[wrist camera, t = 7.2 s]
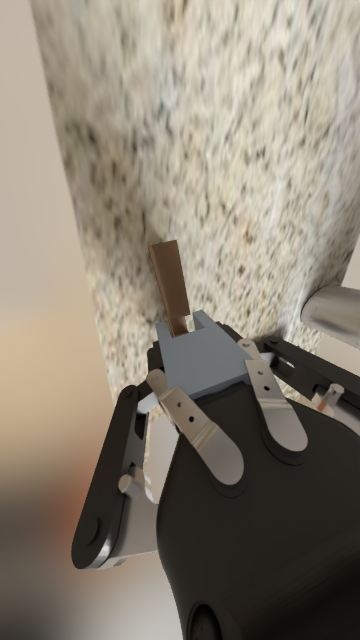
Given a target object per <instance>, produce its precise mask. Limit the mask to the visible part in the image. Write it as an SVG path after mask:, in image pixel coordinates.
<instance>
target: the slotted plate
mask: <svg viewBox="0 0 360 640" xmlns="http://www.w3.org/2000/svg"><path fill="white" fill-rule="evenodd" d="M148 248H149V251H150V255H151V258H152V262H153V266H154V269H155V273H156V276H157V280H158V283H159V287H160V290H161V294H162V298H163V301H164V305H165V308H166V312H167V315H168V319H169V322H170V326H171V330H172V333H173V337H177V336H180V335H184V334H187V333H189V332H188V330H187V325H186V321H185V316H187V315H190V309H189V304H188V299H187V293H186V288H185V282H184V277H183V271H182V266H181V261H180V255H179V250H178V244H177V240H173V241H168V242H164V243H160V244H155V245H152V246H150V247H148Z"/></svg>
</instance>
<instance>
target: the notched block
mask: <svg viewBox="0 0 360 640" xmlns="http://www.w3.org/2000/svg"><path fill="white" fill-rule="evenodd" d="M193 319H194V324H195V330H196V331H193V332H190V333H187V334H184V335H180V336H177V337H174V338H172V337H171V334H170V331H169V329H168V326H167V323H166V321H164V322H160V323H157V324H155V325H156V330H157V335H158V340H159V345H160V349H161V354H162V359H163V364H164V369H165V374H166V379H167V384H168V389H169V390H171V389H172V388H173V387H174V386H175V385H178V386H179V387H180V388H181V389H182V390H183V391H184V392H185V393H186V394H187V396H188V397H189V398H190V399H191V400H192V401H193V402H194V399H197V398H199V397H202V396H205V395H209V394H218V393H222V392H223V391H224V390H225V389H227V388H228V387H229V386H231V385H233V384H235V383H238V382H240V381H243V382H244V383H245V384H250V383H249V380H248V377H247V374H248V372H247V369H246V366H245V363H244V360H250V359H253V358H252V357H251V356H250V355H249V354H248V353H247V352H246V351H245V350H244V349H242V348H241V347H240V346H239V345H238V344H237V343H236V342H235V341H234V340H233V339H232V338H231V337H230V336H229V335H228V334H227V333H226V332H225V331H224V330H223V329H222V328H221V327H220V326H219V325H217V324H216V323H215V322H214V321H213V320H212V319H211V318H210V317H209V316H208V315H207V314H206V313H205V312H204V311H203V310H200V311H197V312H193ZM194 403H195V402H194Z"/></svg>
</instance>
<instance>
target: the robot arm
mask: <svg viewBox="0 0 360 640" xmlns="http://www.w3.org/2000/svg"><path fill="white" fill-rule="evenodd" d="M301 320H302V322H303V324H305V325H307V326H309V327H311V328H314V329H316V330H318V331H320V332H322V333H325V334H327V335H329V336H331V337H333V338H335V339H338V340H340V341H342V342H344V343H347V344H349V345H351V346H353V347H355V348H358V349H360V290H357V289H352V288H347V287H341V286H335V285H328V286H325V287H323V288H321V289H320V290H318V291H317V292H316V293H315V294H314V295H312V297H311V298H310V299H309V300H308V302H307V303H306V305H305V306H304V308H303V311H302V315H301ZM215 323H216V324H217V325H219V326H220V327H221V328H222V329H223V330H224V331H225V332H226V333H227V334H228V335H229V336H230V337H231V338H232V339H233V340H234V341H235V342H236V343H237V344H238V345H239V346H240V347H241V348H242V349H244V350H245V351H246V352H247V353H248V354H249V355H250V356H251V357H252V358H253V359H250V360H244V363H245V366H246V369H247V372H248V374H247V377H248V380H249V383H250V384H245V383H244V382H243V381H240V382H238V383H235V384H233V385H231V386H229V387H228V388H227V389H225V390H224V391H223V392H222V393H218V394H209V395H205V396H202V397H199V398H197V399H194V402H195V403H194V402H193V401H192V400H191V399H190V398H189V397H188V396H187V394H186V393H185V392H184V391H183V390H182V389H181V388H180V387H179V386H178V385H175V386H174V387H173V388H172V389H171V390H169V389H168V384H167V379H166V374H165V369H164V364H163V359H162V354H161V349H160V345H159V340H158V341H155V342H153V348H150V349H149V350H148V352H147V358H148V375H147V377H146V380H145V381H144V382H142V383H141V384H140V385H138V386H137V387H136V386H135V385H129V386H127V387H125V388H124V389H123V390H122V391H121V393H120V394H119V397H118V401H117V404H116V407H115V410H114V413H113V416H112V419H111V422H110V426H109V429H108V432H107V435H106V438H105V441H104V444H103V447H102V450H101V454H100V457H99V460H98V463H97V466H96V469H95V472H94V476H93V479H92V482H91V485H90V488H89V491H88V494H87V497H86V500H85V503H84V507H83V510H82V513H81V516H80V519H79V522H78V526H77V528H76V532H75V535H74V539H73V543H72V550H71V556H72V562H73V564H74V566H75V567H76V568H78V569H88V568H89V569H91V570H99V569H108V568H110V567H112V566H118V565H120V564H122V563H123V562H124V561H125V560H126V558H127V557H129V556H136V555H142V554H147V553H153V552H159V556H160V560H161V563H162V566H163V568H164V571H165V573H166V575H167V578H168V580H169V583H170V585H171V588H172V591H173V595H174V598H175V602H176V605H177V610H178V614H179V619H180V623H181V629H182V634H183V640H360V377H359V376H357V375H355V374H353V373H351V372H349V371H347V370H345V369H342V368H340V367H338V366H336V365H334V364H332V363H330V362H328V361H326V360H324V359H322V358H320V357H317V356H316V355H313V354H311V353H309V352H307V351H305V350H303V349H301V348H299V347H297V346H295V345H293V344H291V343H289V342H287V341H284V340H282V339H280V338H278V337H275V336H268V337H266V338H265V339H264V342H253V341H252V340H250V339H244V338H242V337H241V336H240V335H239V334H238V333H237V332H235V331H234V330H233V329H232V328H231V327H230V326H228V325H225V324H223V325H222V324H221V323H220V322H219V321H218V322H215ZM280 358H283V359H284V360H286V361H288V362H289V363H291V364H292V365H293V366H294V367H295V368H293V367H291V366H290V365H288V364H286V363H285V362H283V361H282V360H280ZM273 374H274V375H276V376H277V377H278V378H280V379H281V380H283V381H284V382H285V383H287V384H288V385H289V386H291V387H292V388H294V389H295V390H296V391H298V392H299V393H300V394H302V395H303V396H305V397H306V398H307V399H309V400H310V401H312V403H313V405H314V406H315V408H316V409H317V411H316V410H314V409H311V408H309V407H307V406H305V405H302V404H300V403H298V402H295V401H293V400H291V399H288V398H286V397H284V395H283V393H282V391H281V389H280V387H279V385H278V383H277V381H276V379H275V377H274V375H273ZM158 404H159V405H160V407H161V408H162V410H163V411H164V413H165V414H166V416H167V417H168V419H169V420H170V422H171V424H172V426H173V427H174V429H175V430H176V432H177V434H178V435H179V438H178V441H177V445H176V448H175V451H174V454H173V457H172V461H171V464H170V467H169V471H168V474H167V478H166V481H165V484H164V487H163V490H162V494H161V497H160V501H159V504H155V502H154V500H153V497H152V493H151V481H150V478H149V476H148V475H147V474H146V473H145V472H144V471H143V462H144V453H145V444H146V435H147V426H148V417H149V411H150V410H151V409H152V408H154V407H155V406H156V405H158Z"/></svg>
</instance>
